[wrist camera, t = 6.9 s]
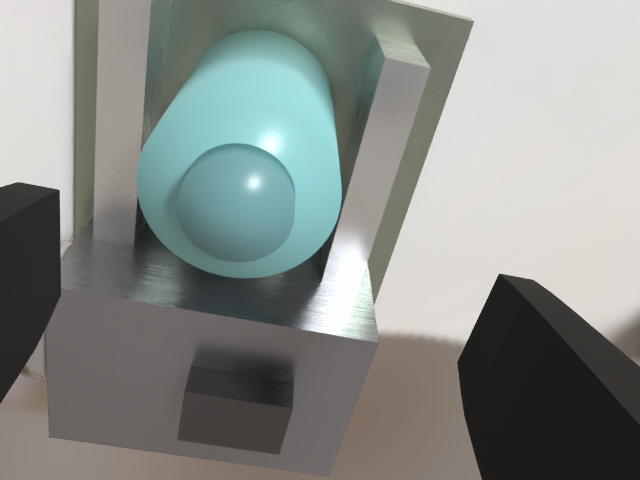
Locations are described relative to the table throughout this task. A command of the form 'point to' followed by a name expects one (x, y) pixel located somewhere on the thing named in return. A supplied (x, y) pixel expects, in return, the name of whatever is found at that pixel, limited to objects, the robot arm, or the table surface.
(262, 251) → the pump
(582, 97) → the table surface
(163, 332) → the motor
